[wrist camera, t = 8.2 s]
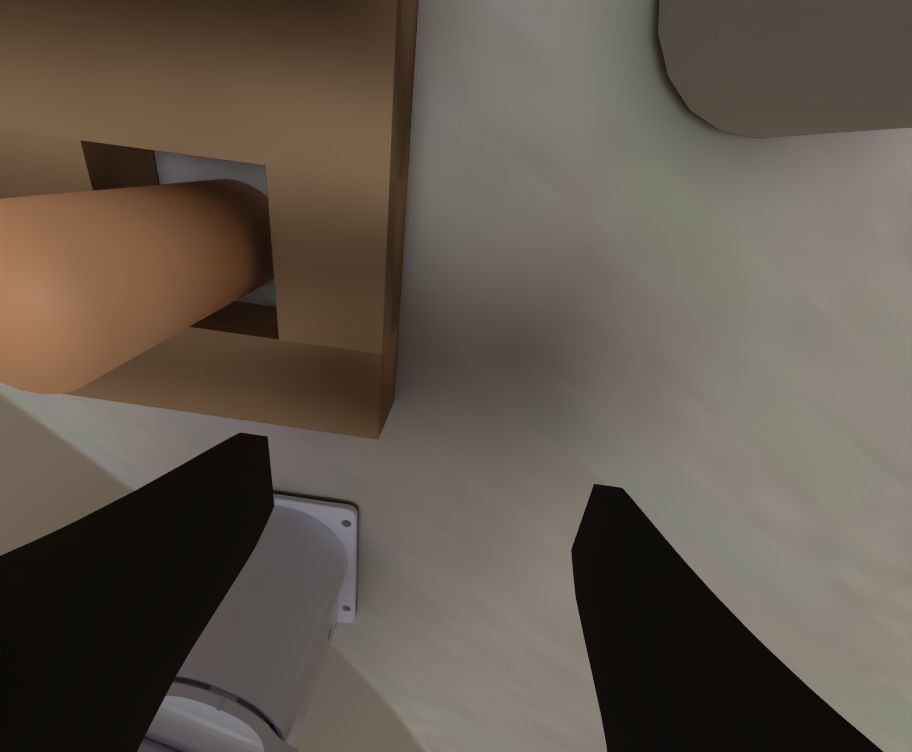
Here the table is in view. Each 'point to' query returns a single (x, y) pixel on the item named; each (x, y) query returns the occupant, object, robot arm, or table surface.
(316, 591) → the robot arm
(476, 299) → the table surface
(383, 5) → the socket block
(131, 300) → the peg
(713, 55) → the can
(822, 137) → the table surface
